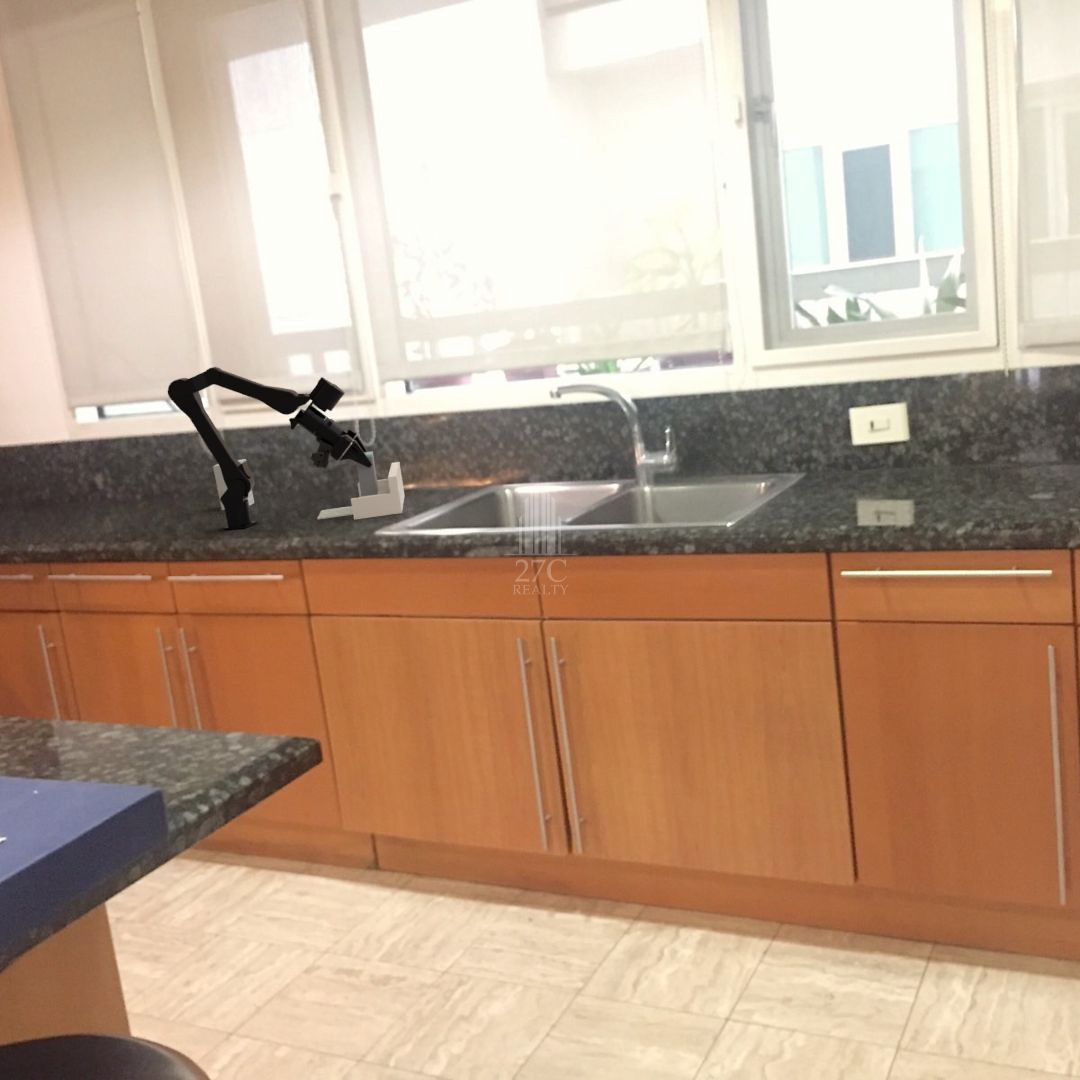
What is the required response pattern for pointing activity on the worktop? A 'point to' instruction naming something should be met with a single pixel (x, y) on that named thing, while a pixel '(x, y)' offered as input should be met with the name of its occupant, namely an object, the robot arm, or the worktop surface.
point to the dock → (382, 497)
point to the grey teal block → (367, 477)
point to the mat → (335, 512)
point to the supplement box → (222, 486)
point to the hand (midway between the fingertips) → (371, 464)
